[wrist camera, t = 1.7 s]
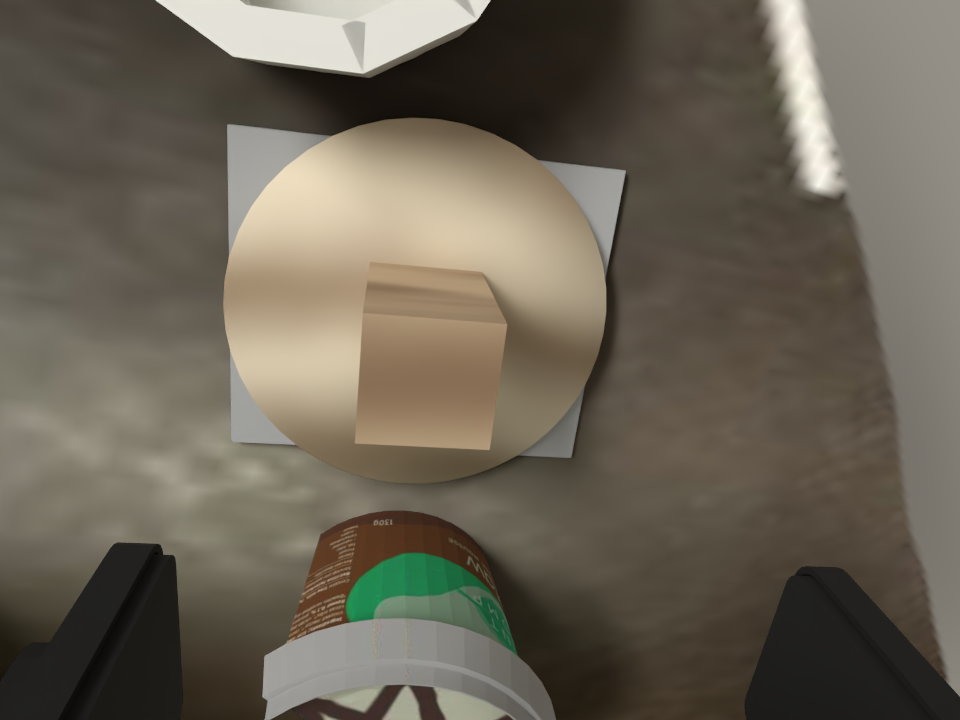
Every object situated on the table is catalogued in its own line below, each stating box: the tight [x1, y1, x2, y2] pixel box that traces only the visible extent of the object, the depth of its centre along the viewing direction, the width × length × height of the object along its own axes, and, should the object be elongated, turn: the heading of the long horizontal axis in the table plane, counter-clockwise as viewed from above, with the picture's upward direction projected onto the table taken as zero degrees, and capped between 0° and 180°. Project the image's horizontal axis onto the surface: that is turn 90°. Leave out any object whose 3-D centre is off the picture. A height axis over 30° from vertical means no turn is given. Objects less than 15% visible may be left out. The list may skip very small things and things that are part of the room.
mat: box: [227, 124, 626, 458], centre depth 26 cm, size 12×14×1 cm
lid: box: [223, 117, 606, 484], centre depth 22 cm, size 14×14×7 cm
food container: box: [263, 511, 556, 720], centre depth 26 cm, size 12×6×10 cm, turn 35°
